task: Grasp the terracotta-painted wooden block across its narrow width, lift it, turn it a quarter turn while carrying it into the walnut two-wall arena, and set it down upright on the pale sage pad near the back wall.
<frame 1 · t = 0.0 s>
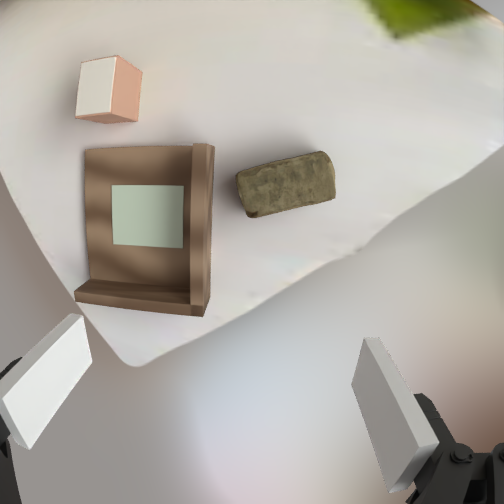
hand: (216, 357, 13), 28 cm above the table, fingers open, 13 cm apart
sage pad: (149, 214, 40), resting on arena
arena: (145, 221, 40), on the table
terracotta block: (123, 97, 36), on the table
stone block: (285, 182, 39), on the table
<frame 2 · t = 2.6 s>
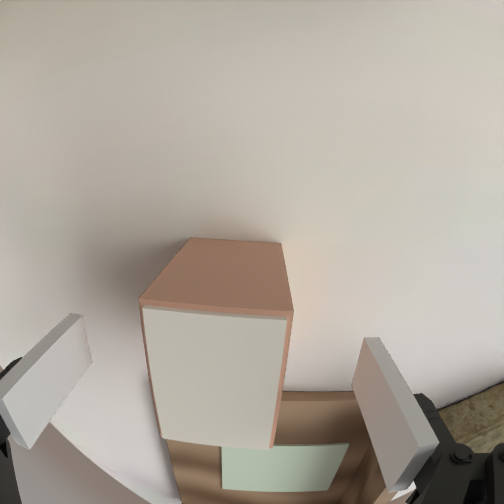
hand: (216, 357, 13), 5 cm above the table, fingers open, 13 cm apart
sage pad: (280, 461, 23), resting on arena
arena: (273, 467, 23), on the table
terracotta block: (233, 298, 18), on the table
stone block: (466, 410, 22), on the table
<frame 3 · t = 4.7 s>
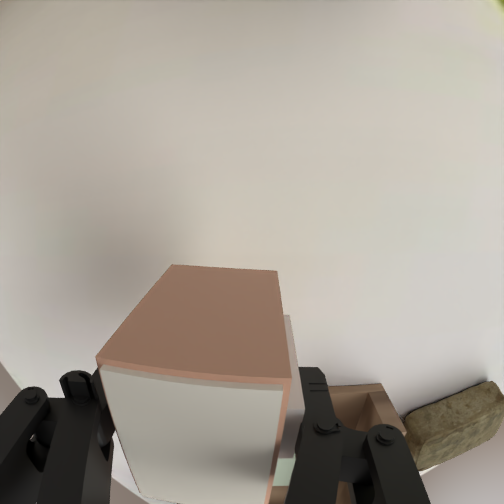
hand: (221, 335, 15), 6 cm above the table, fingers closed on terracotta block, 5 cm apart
sage pad: (269, 455, 25), resting on arena
arena: (263, 461, 25), on the table
terracotta block: (222, 332, 16), point 5 cm above the table, touching gripper
stone block: (444, 410, 25), on the table
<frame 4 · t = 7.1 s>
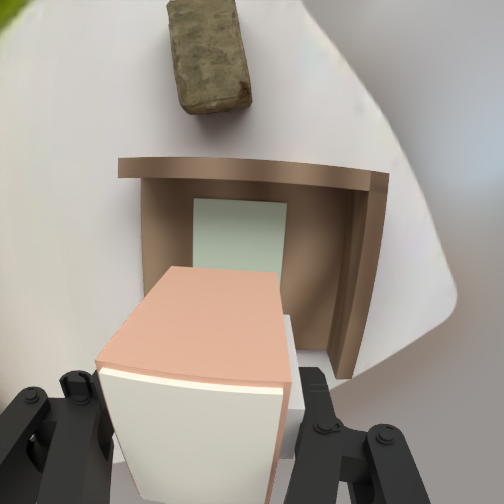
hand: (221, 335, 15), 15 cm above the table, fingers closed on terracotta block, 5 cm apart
sage pad: (238, 253, 29), resting on arena
arena: (248, 258, 29), on the table
terracotta block: (222, 334, 16), point 14 cm above the table, touching gripper
stone block: (213, 59, 25), on the table
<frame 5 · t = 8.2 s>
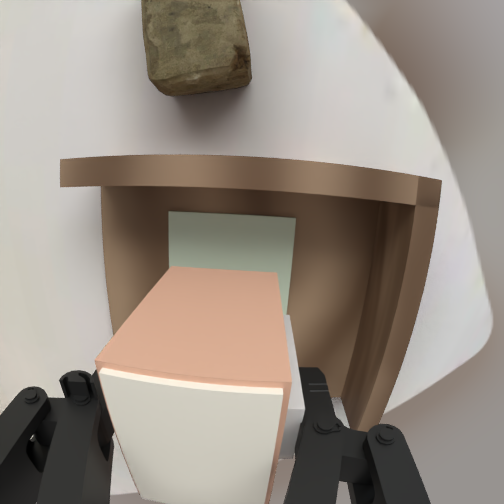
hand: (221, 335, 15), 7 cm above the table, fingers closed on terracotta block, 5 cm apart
sage pad: (229, 282, 22), resting on arena
arena: (243, 290, 22), on the table
terracotta block: (222, 334, 16), point 7 cm above the table, touching gripper
stone block: (201, 26, 17), on the table
when the fingers open (2 cm above the table, at t = 9.5 s): terracotta block stays where it is, resting on sage pad.
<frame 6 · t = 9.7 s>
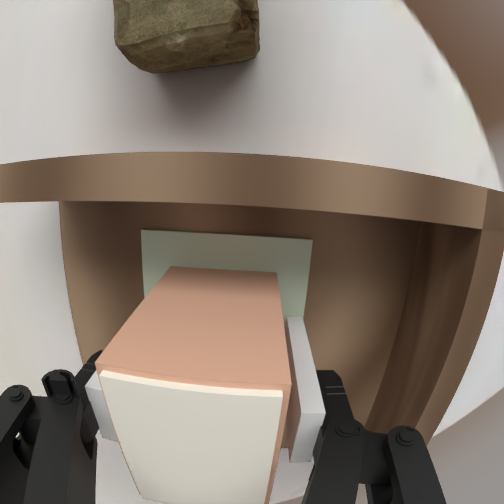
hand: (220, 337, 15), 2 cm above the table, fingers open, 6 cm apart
sage pad: (224, 320, 17), resting on arena
arena: (242, 329, 17), on the table
terracotta block: (221, 334, 16), point 1 cm above the table, touching sage pad
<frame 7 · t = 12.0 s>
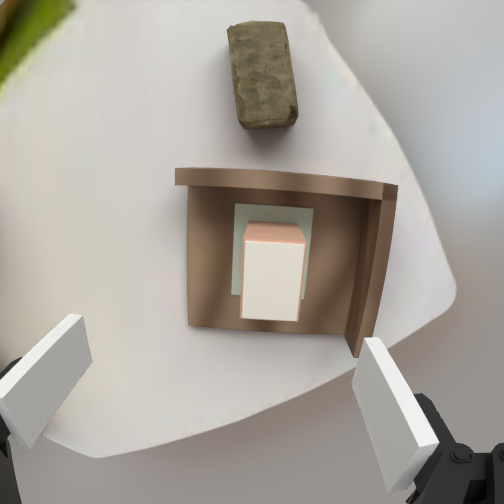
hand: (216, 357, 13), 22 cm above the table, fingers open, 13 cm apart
sage pad: (270, 250, 34), resting on arena
arena: (279, 255, 34), on the table
terracotta block: (270, 254, 33), point 1 cm above the table, touching sage pad
stone block: (262, 80, 30), on the table
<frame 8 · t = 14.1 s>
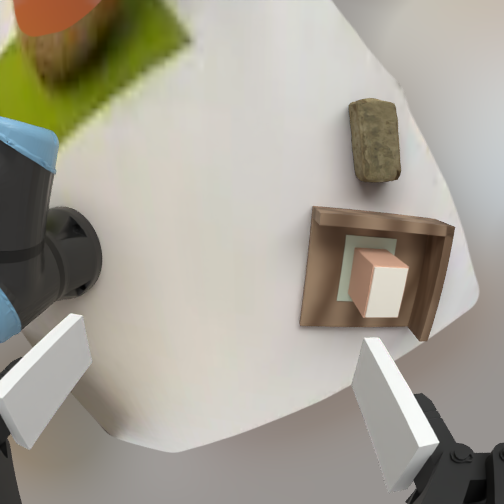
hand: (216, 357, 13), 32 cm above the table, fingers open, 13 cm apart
sage pad: (364, 267, 45), resting on arena
arena: (370, 271, 45), on the table
terracotta block: (367, 271, 44), point 1 cm above the table, touching sage pad
stone block: (368, 141, 41), on the table
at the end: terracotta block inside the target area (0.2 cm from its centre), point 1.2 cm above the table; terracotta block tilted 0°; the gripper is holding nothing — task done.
